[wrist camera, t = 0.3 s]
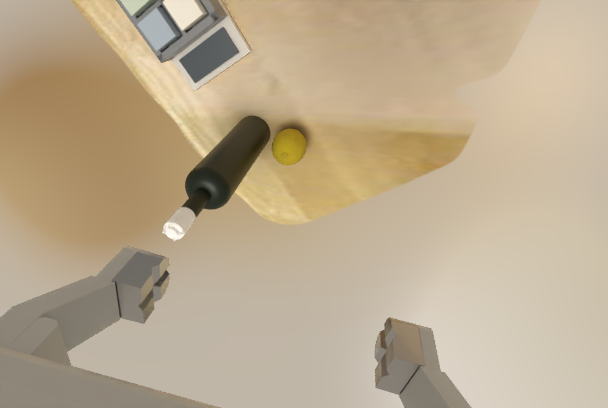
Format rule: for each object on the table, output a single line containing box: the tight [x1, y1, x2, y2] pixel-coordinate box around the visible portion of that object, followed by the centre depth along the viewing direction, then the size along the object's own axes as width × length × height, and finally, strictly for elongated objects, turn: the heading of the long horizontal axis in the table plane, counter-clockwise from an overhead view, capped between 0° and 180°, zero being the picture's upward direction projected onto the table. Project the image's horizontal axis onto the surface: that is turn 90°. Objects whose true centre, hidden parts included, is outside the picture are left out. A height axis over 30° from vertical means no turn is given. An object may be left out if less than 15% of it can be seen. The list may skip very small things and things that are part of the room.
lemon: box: [272, 129, 306, 165], centre depth 55 cm, size 6×6×8 cm
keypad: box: [116, 0, 252, 91], centre depth 50 cm, size 18×12×4 cm, turn 31°
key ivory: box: [163, 0, 209, 31], centre depth 47 cm, size 4×4×2 cm
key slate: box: [137, 7, 182, 51], centre depth 49 cm, size 4×4×2 cm
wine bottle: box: [162, 116, 270, 242], centre depth 47 cm, size 6×6×30 cm
